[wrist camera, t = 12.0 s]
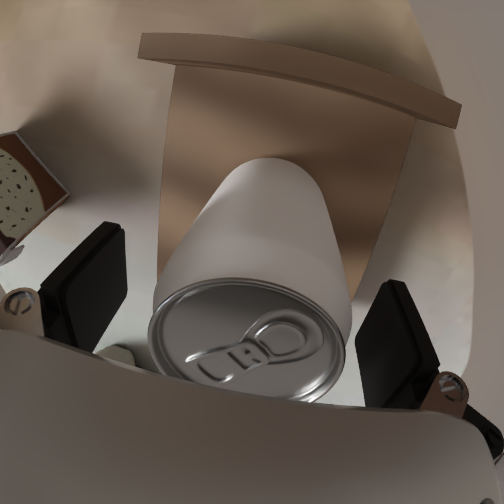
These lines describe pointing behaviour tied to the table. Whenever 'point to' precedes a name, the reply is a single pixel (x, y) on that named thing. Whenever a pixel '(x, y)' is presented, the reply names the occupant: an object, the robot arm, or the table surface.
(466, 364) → the table surface
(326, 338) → the can
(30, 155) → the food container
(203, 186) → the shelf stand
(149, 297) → the table surface
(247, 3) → the table surface
